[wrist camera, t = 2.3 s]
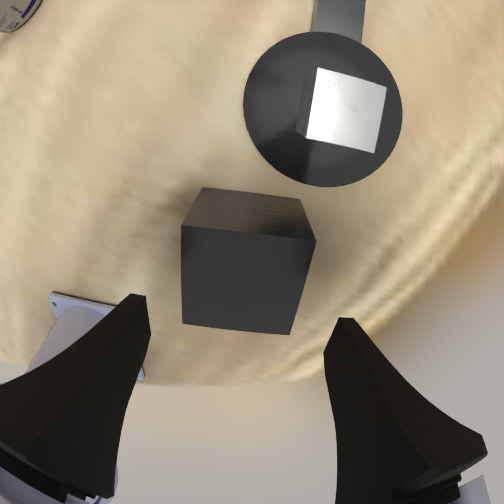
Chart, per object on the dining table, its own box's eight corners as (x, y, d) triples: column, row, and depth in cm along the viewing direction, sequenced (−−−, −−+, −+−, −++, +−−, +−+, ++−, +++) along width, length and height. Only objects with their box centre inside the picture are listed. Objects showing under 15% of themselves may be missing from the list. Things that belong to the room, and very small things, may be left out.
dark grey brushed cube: (282, 278, 18) (289, 335, 14) (198, 268, 18) (182, 323, 14) (299, 199, 16) (316, 241, 11) (202, 187, 15) (181, 224, 11)
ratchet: (373, 190, 15) (408, 222, 11) (235, 167, 15) (228, 193, 11) (402, -68, 6) (432, -92, 2) (279, -102, 5) (284, -139, 1)
